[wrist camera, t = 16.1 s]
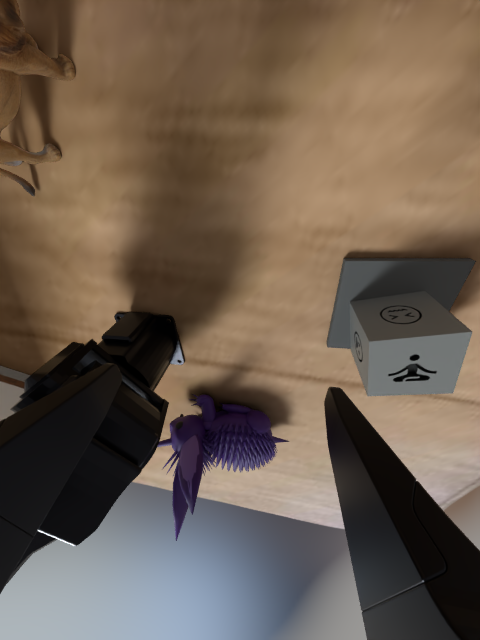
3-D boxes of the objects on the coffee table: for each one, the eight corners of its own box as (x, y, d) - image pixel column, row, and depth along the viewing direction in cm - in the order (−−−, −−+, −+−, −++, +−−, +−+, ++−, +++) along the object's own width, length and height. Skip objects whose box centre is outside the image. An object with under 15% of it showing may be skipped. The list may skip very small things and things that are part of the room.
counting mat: (422, 348, 19) (426, 353, 19) (326, 343, 21) (327, 347, 20) (469, 258, 15) (475, 261, 15) (343, 258, 16) (345, 260, 16)
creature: (157, 376, 28) (86, 490, 18) (299, 410, 27) (307, 551, 17) (161, 415, 33) (107, 522, 23) (281, 445, 32) (278, 570, 22)
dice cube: (350, 350, 20) (367, 396, 16) (349, 301, 18) (369, 341, 13) (416, 344, 19) (452, 393, 15) (424, 290, 16) (472, 331, 12)
